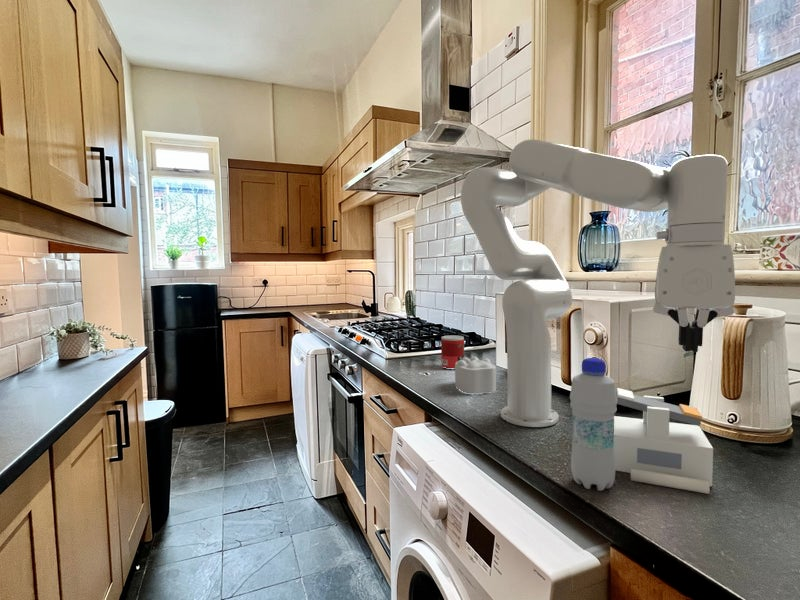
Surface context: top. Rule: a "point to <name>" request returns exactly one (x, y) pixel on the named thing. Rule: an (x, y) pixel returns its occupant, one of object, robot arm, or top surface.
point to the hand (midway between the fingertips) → (689, 349)
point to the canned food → (452, 350)
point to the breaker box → (662, 445)
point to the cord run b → (670, 481)
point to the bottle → (593, 425)
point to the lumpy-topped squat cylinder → (475, 375)
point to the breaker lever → (676, 412)
